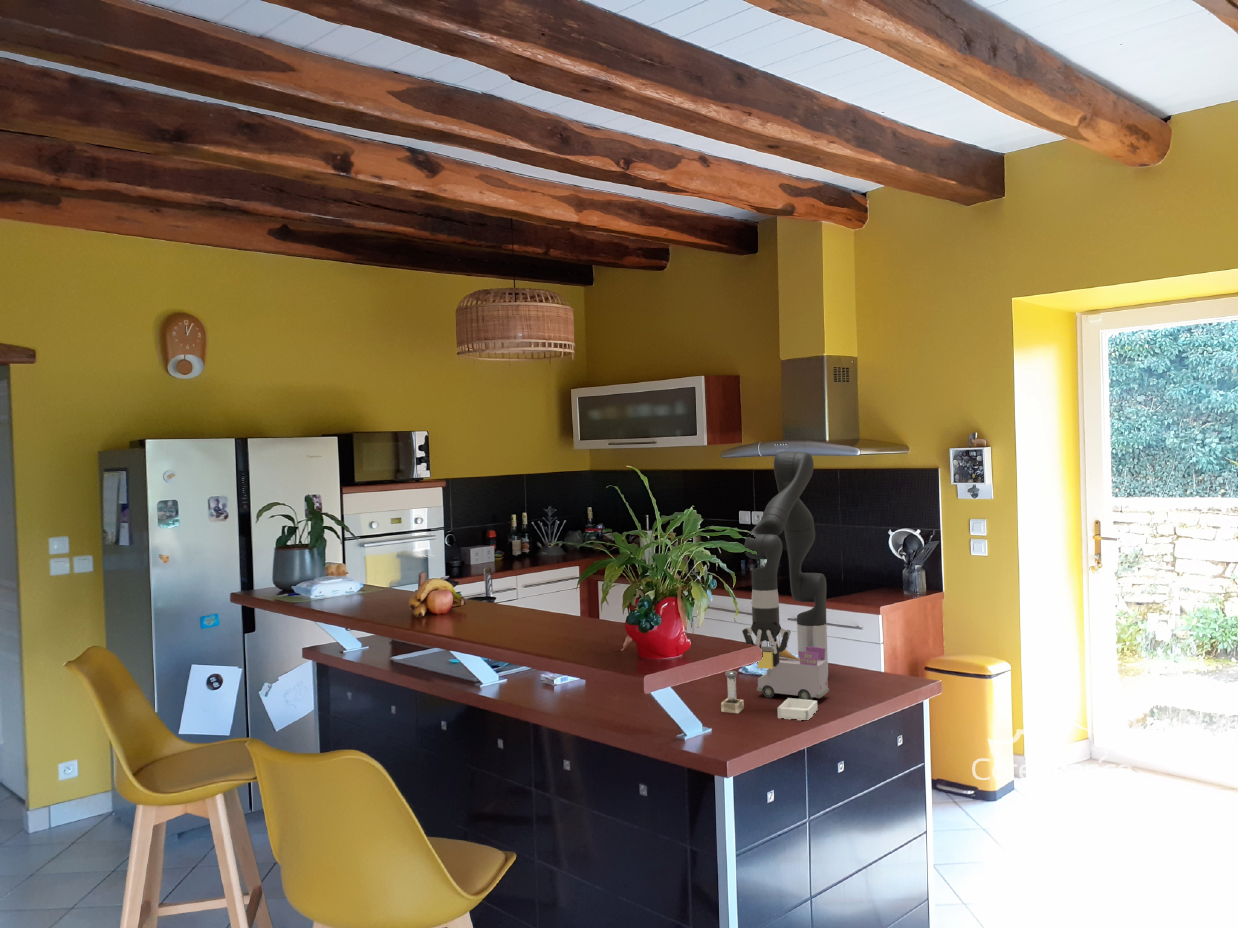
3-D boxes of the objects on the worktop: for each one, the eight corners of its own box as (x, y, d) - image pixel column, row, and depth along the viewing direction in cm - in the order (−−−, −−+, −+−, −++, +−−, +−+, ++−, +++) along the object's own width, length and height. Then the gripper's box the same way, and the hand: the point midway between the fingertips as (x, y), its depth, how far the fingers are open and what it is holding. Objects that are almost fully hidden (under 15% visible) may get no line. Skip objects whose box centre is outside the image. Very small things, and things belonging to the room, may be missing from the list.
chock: (763, 663, 265) (762, 646, 265) (776, 664, 263) (776, 647, 263) (757, 667, 261) (757, 649, 261) (771, 668, 259) (771, 650, 259)
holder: (727, 706, 267) (726, 698, 267) (743, 708, 265) (743, 699, 265) (721, 711, 262) (721, 702, 262) (738, 713, 260) (737, 704, 260)
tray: (788, 707, 264) (787, 697, 264) (817, 710, 260) (817, 700, 260) (777, 718, 254) (777, 707, 254) (808, 721, 251) (807, 710, 251)
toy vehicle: (767, 689, 283) (766, 641, 283) (830, 696, 273) (828, 646, 273) (756, 697, 275) (754, 647, 275) (819, 705, 265) (818, 653, 265)
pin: (729, 707, 266) (727, 670, 266) (740, 708, 264) (739, 671, 264) (724, 711, 263) (723, 673, 262) (736, 712, 261) (735, 674, 261)
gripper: (793, 603, 262) (795, 664, 262) (745, 601, 268) (747, 660, 269) (786, 608, 255) (788, 670, 256) (736, 606, 262) (739, 666, 262)
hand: (767, 665), depth 262 cm, fingers closed on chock, 4 cm apart
